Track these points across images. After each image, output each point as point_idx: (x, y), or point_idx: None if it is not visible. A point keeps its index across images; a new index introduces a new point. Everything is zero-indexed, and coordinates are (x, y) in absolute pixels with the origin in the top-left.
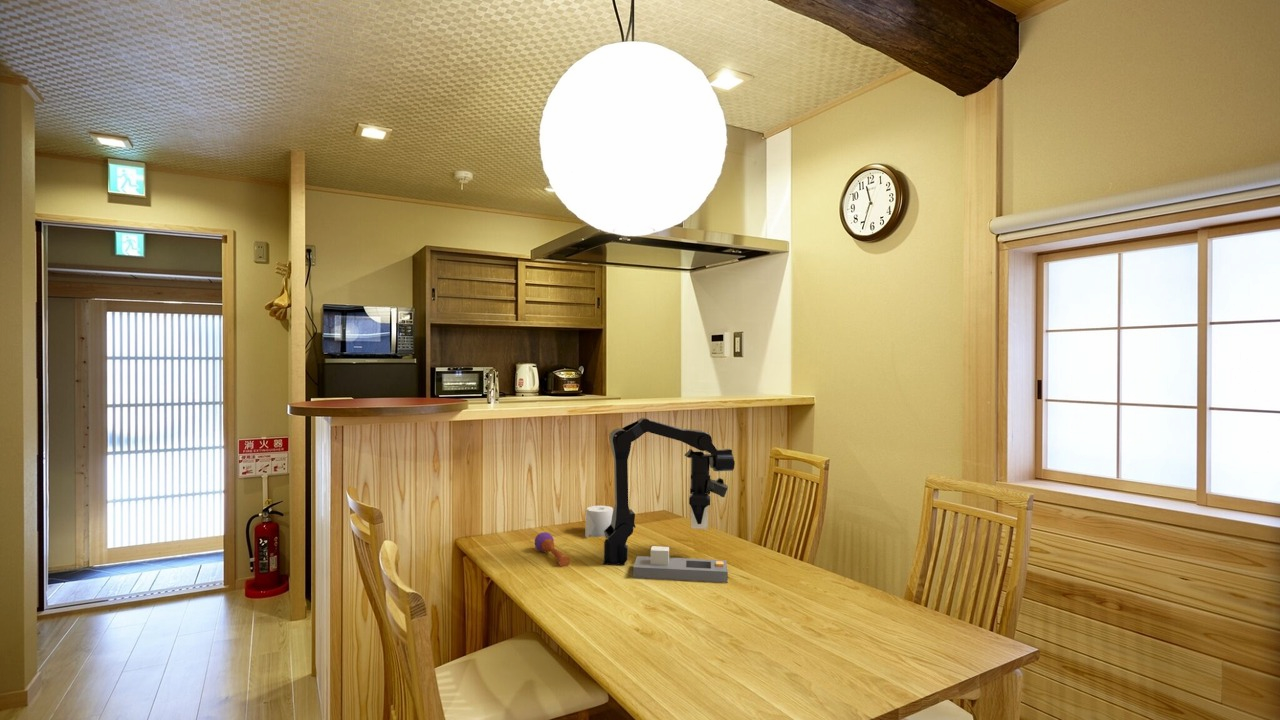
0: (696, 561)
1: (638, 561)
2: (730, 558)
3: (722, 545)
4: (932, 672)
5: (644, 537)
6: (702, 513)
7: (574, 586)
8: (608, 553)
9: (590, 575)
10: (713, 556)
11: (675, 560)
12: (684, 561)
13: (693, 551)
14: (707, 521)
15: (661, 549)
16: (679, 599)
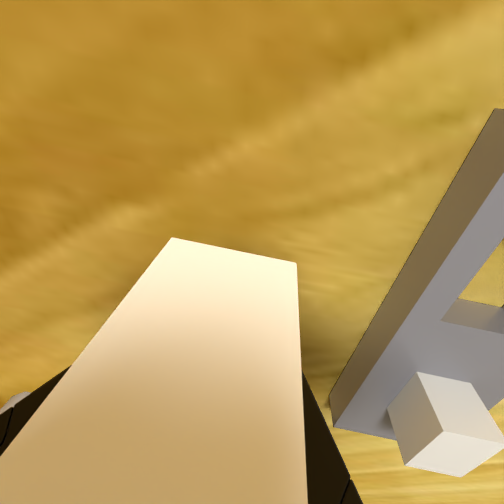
0: (466, 284)
1: (390, 433)
2: (273, 18)
3: (9, 18)
4: None
5: (38, 337)
6: (352, 500)
7: (434, 487)
8: None
9: (374, 464)
10: (233, 130)
11: (422, 354)
12: (449, 329)
13: (162, 215)
14: (297, 319)
15: (469, 455)
16: None
